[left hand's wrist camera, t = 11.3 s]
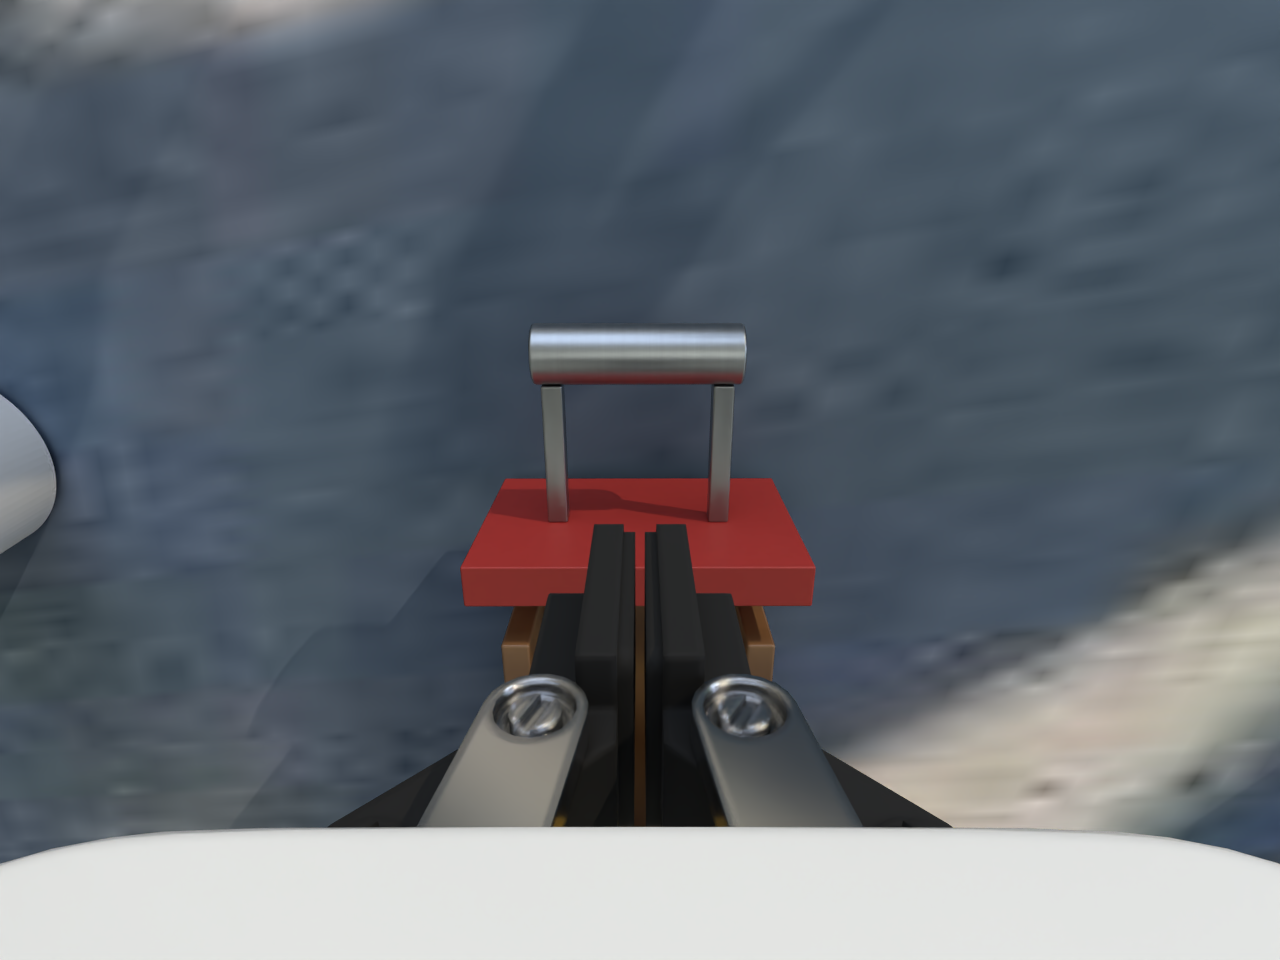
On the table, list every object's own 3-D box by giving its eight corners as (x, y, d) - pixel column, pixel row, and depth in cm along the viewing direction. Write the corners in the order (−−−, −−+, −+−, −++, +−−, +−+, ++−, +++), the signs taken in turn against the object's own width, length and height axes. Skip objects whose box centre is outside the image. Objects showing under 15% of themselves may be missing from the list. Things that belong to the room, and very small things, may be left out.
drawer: (491, 307, 22) (434, 343, 16) (784, 307, 22) (839, 343, 16) (534, 842, 30) (508, 999, 24) (744, 842, 30) (770, 998, 24)
